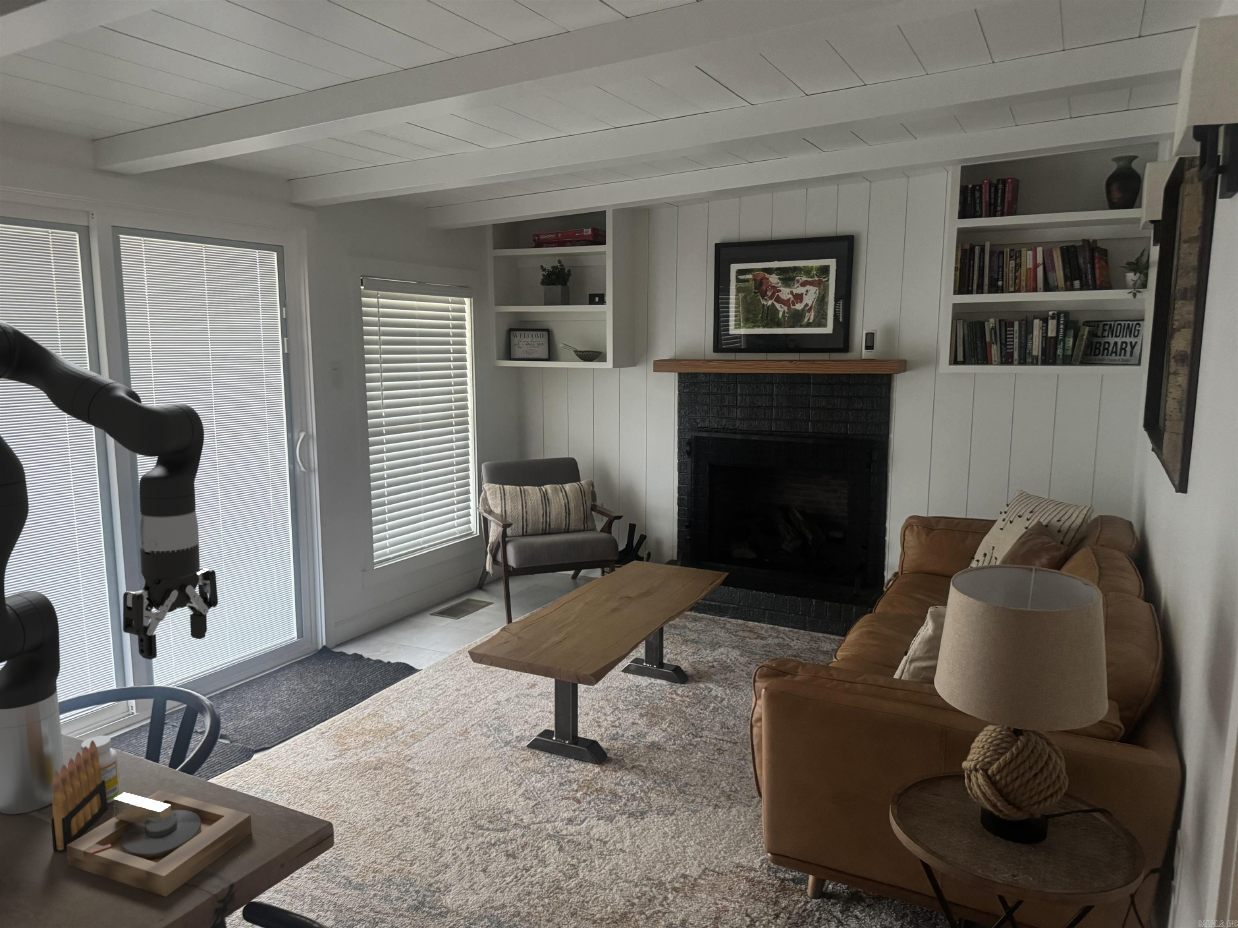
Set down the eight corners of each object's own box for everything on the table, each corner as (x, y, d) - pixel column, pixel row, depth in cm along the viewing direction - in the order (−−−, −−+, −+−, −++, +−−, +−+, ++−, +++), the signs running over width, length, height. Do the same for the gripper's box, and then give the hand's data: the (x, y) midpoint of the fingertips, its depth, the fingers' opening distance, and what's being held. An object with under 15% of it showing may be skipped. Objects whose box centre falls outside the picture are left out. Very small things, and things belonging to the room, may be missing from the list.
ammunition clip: (66, 852, 117) (58, 774, 115) (52, 852, 116) (44, 774, 115) (108, 808, 127) (102, 737, 125) (96, 809, 127) (89, 737, 125)
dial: (216, 825, 120) (214, 795, 120) (158, 866, 111) (155, 834, 110) (151, 807, 125) (148, 778, 124) (89, 844, 115) (86, 813, 115)
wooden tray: (66, 865, 114) (64, 844, 113) (161, 807, 128) (159, 788, 127) (164, 897, 108) (162, 875, 107) (251, 832, 122) (250, 812, 121)
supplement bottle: (86, 791, 132) (81, 735, 130) (124, 786, 133) (119, 731, 132) (76, 810, 127) (70, 752, 125) (115, 804, 128) (110, 747, 127)
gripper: (190, 528, 126) (194, 627, 129) (105, 549, 113) (111, 660, 116) (228, 534, 124) (231, 635, 126) (145, 557, 110) (151, 670, 113)
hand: (174, 647), depth 121 cm, fingers open, 8 cm apart
